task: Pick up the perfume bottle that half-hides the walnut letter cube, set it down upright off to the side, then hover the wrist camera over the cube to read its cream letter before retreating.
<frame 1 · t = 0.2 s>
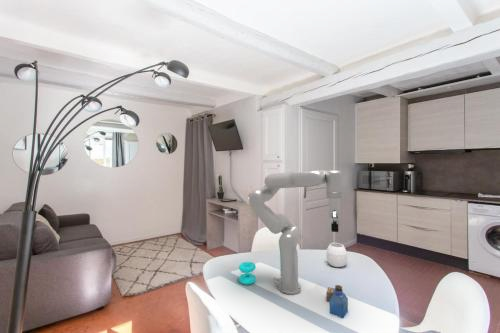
hand: (334, 229, 124), 36 cm above the table, tool pointing down, fingers open, 9 cm apart
white jar: (336, 265, 165), on the table
donuts: (247, 281, 145), on the table
perfume bottle: (338, 312, 114), on the table
letter cube: (332, 300, 124), on the table
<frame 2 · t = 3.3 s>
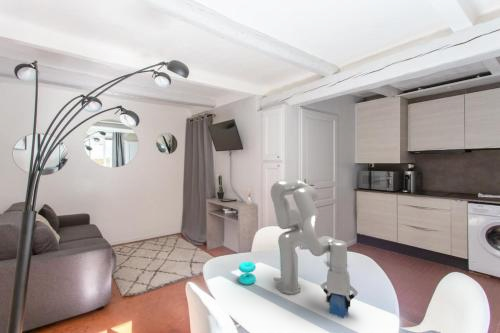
hand: (338, 305, 114), 3 cm above the table, tool pointing down, fingers closed on perfume bottle, 7 cm apart
perfume bottle: (338, 312, 114), on the table, touching gripper
everything else where it was.
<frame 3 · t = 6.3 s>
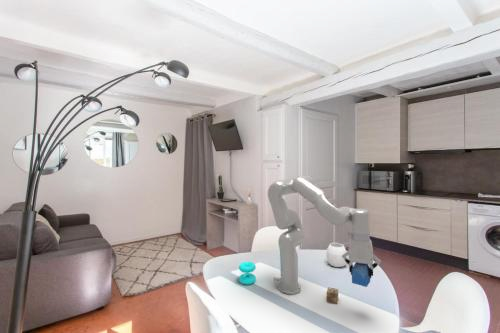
hand: (361, 275, 112), 18 cm above the table, tool pointing down, fingers closed on perfume bottle, 7 cm apart
perfume bottle: (361, 282, 112), point 15 cm above the table, touching gripper
everything else where it was.
when the fingers open (5 cm above the table, at t = 9.4 s): perfume bottle drops 1 cm, on the table.
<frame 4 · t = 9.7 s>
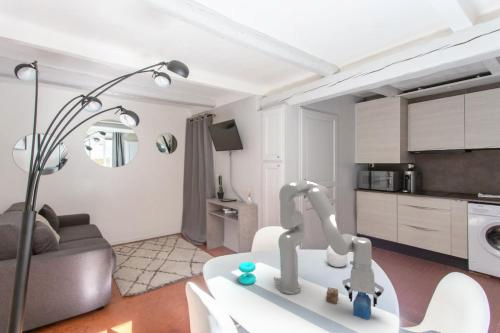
hand: (362, 302, 112), 5 cm above the table, tool pointing down, fingers open, 9 cm apart
perfume bottle: (362, 314, 113), on the table
everything else where it was.
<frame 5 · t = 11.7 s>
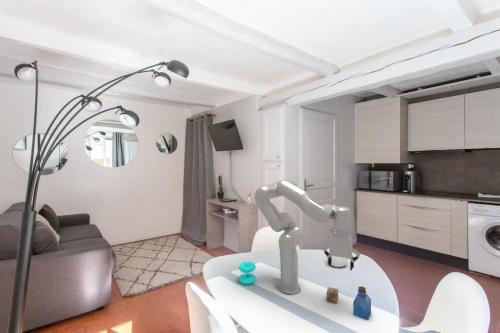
hand: (340, 267, 120), 18 cm above the table, tool pointing down, fingers open, 9 cm apart
nothing on the table moved.
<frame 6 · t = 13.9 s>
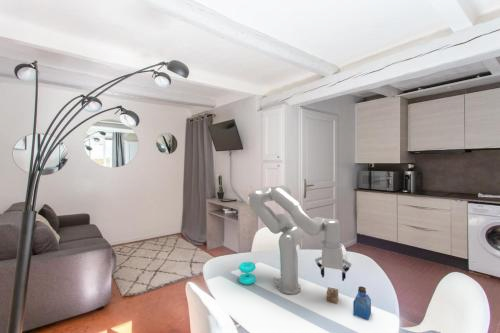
hand: (333, 278, 124), 11 cm above the table, tool pointing down, fingers open, 9 cm apart
nothing on the table moved.
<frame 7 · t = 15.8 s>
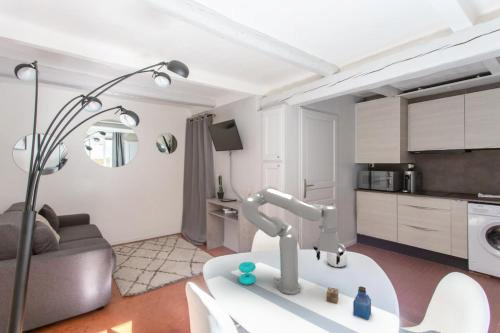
hand: (327, 261, 130), 17 cm above the table, tool pointing down, fingers open, 9 cm apart
nothing on the table moved.
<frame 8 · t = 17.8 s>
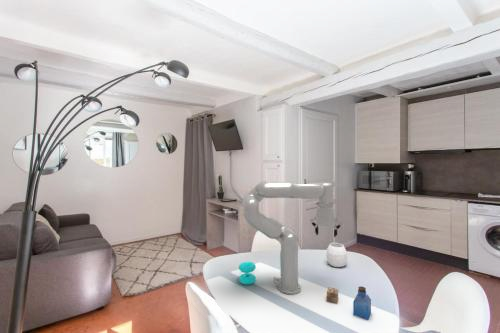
hand: (326, 235, 138), 28 cm above the table, tool pointing down, fingers open, 9 cm apart
nothing on the table moved.
at the end: perfume bottle inside the target area (0.2 cm from its centre), on the table; perfume bottle tilted 0°; letter cube moved 0.1 cm from its start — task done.
